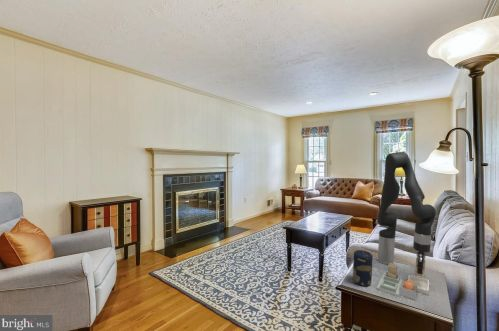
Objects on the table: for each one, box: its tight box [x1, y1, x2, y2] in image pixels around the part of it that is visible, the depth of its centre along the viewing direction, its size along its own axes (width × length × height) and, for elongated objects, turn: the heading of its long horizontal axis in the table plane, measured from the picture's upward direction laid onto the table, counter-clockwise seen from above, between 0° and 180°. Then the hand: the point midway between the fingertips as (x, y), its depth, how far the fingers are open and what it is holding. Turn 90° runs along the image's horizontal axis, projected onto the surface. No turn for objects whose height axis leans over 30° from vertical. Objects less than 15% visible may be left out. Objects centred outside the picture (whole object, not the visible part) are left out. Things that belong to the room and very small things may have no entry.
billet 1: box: [387, 263, 398, 279], centre depth 138 cm, size 4×4×8 cm
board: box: [376, 271, 404, 297], centre depth 134 cm, size 19×10×3 cm, turn 142°
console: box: [399, 281, 418, 301], centre depth 125 cm, size 7×7×4 cm
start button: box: [403, 280, 414, 290], centre depth 125 cm, size 4×4×6 cm
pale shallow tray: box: [406, 274, 430, 297], centre depth 133 cm, size 14×10×2 cm
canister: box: [352, 249, 373, 287], centre depth 136 cm, size 10×10×18 cm
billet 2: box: [414, 257, 426, 278], centre depth 133 cm, size 4×4×8 cm
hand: (419, 271), depth 133 cm, fingers closed on billet 2, 4 cm apart
